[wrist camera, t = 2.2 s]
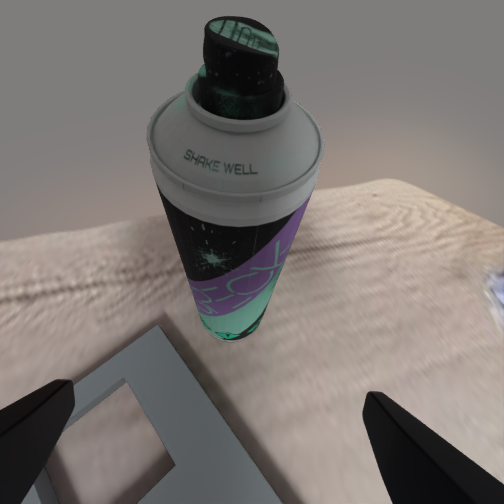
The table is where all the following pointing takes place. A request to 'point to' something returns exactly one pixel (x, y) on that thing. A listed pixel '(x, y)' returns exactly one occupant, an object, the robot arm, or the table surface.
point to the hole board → (172, 429)
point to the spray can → (234, 173)
